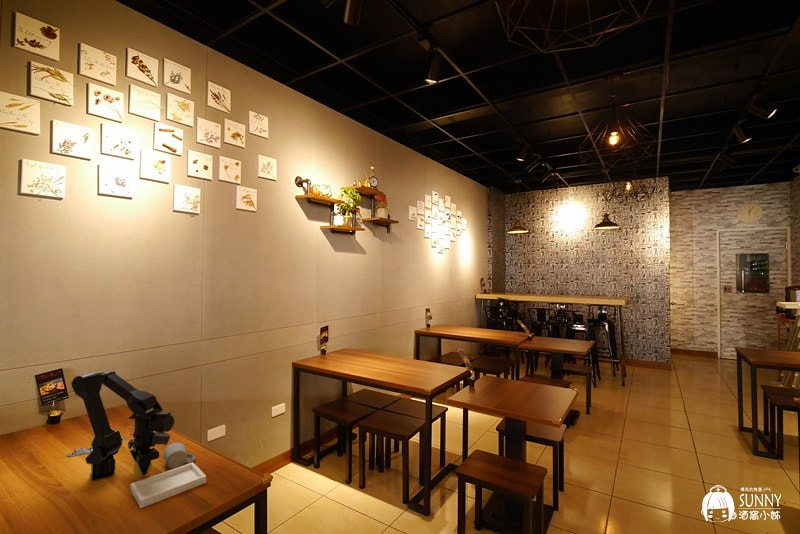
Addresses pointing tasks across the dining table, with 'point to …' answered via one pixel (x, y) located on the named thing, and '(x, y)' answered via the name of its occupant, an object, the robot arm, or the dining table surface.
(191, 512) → the dining table surface
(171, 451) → the ceramic mug
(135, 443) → the robot arm
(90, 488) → the dining table surface
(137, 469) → the lemon
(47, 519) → the dining table surface
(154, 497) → the tray
